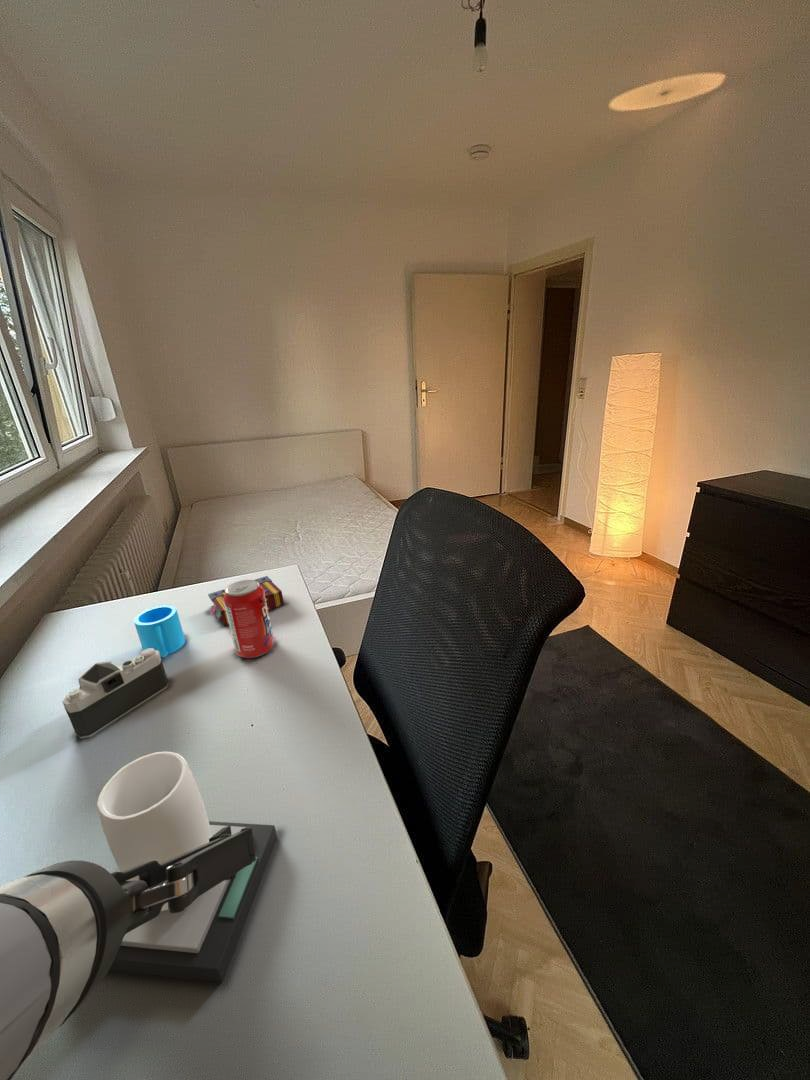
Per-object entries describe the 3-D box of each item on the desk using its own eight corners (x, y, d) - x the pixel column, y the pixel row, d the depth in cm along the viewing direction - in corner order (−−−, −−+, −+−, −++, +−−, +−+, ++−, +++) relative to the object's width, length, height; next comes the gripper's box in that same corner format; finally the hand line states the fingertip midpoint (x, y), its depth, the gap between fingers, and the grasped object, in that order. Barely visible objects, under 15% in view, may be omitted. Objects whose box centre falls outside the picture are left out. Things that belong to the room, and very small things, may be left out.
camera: (151, 672, 88) (137, 629, 85) (176, 685, 84) (163, 640, 80) (61, 726, 76) (40, 678, 72) (86, 744, 71) (65, 694, 68)
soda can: (228, 658, 91) (212, 593, 86) (251, 637, 98) (238, 576, 93) (260, 663, 89) (246, 597, 83) (282, 641, 96) (270, 579, 90)
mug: (144, 644, 98) (133, 612, 95) (184, 632, 102) (175, 601, 99) (143, 673, 88) (132, 638, 85) (188, 659, 92) (178, 625, 89)
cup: (137, 943, 43) (91, 843, 38) (132, 868, 49) (92, 775, 44) (228, 887, 47) (197, 790, 42) (212, 825, 54) (183, 735, 49)
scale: (71, 967, 44) (60, 948, 43) (159, 830, 57) (152, 813, 56) (223, 984, 42) (215, 964, 41) (277, 838, 55) (273, 820, 54)
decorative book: (285, 606, 110) (282, 588, 108) (218, 630, 102) (214, 611, 100) (269, 590, 119) (266, 573, 117) (207, 611, 110) (202, 593, 109)
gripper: (-353, 1215, 18) (-12, 979, 37) (279, 946, 25) (293, 864, 44) (-294, 981, 21) (-6, 873, 39) (259, 799, 28) (280, 781, 46)
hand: (152, 868), depth 42 cm, fingers open, 13 cm apart
